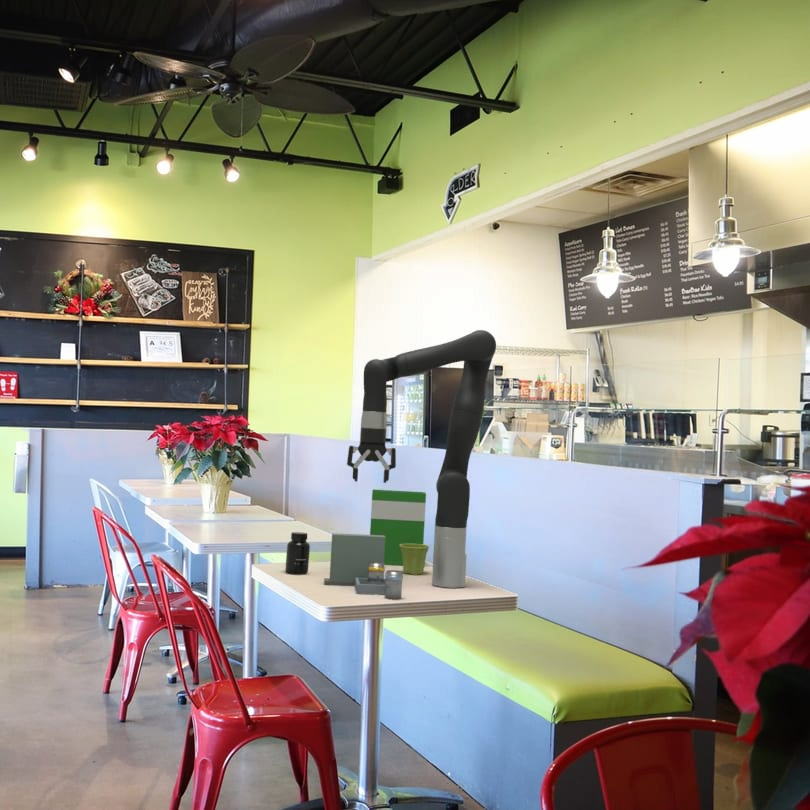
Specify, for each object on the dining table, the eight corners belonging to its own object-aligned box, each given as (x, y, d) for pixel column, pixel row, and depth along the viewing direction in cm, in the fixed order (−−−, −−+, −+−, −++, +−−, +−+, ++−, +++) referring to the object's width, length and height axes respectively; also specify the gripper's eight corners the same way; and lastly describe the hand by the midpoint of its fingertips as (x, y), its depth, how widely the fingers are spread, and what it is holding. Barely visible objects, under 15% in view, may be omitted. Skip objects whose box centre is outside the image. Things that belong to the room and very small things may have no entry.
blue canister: (400, 596, 246) (402, 570, 246) (402, 600, 242) (403, 573, 242) (383, 596, 246) (385, 569, 246) (385, 599, 241) (386, 572, 241)
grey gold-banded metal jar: (384, 590, 251) (385, 564, 251) (367, 589, 250) (368, 564, 251) (382, 587, 255) (384, 562, 256) (366, 586, 255) (367, 561, 255)
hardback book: (368, 564, 301) (372, 490, 301) (368, 560, 308) (372, 489, 309) (422, 567, 301) (426, 493, 302) (421, 563, 308) (425, 492, 309)
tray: (393, 588, 259) (394, 579, 259) (397, 595, 248) (397, 586, 248) (354, 586, 258) (355, 577, 258) (356, 593, 247) (357, 584, 247)
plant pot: (401, 575, 281) (403, 547, 282) (395, 570, 291) (396, 543, 291) (431, 576, 284) (432, 547, 284) (423, 571, 293) (425, 543, 293)
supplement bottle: (299, 575, 271) (301, 535, 271) (280, 572, 274) (283, 532, 274) (312, 573, 277) (314, 533, 277) (294, 570, 280) (296, 530, 281)
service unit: (386, 584, 265) (389, 535, 265) (388, 587, 260) (390, 537, 260) (324, 581, 263) (326, 532, 263) (324, 584, 258) (327, 534, 258)
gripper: (396, 428, 276) (392, 482, 276) (348, 425, 274) (345, 480, 274) (398, 428, 268) (395, 484, 268) (350, 425, 267) (346, 481, 266)
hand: (370, 482), depth 271 cm, fingers open, 8 cm apart
